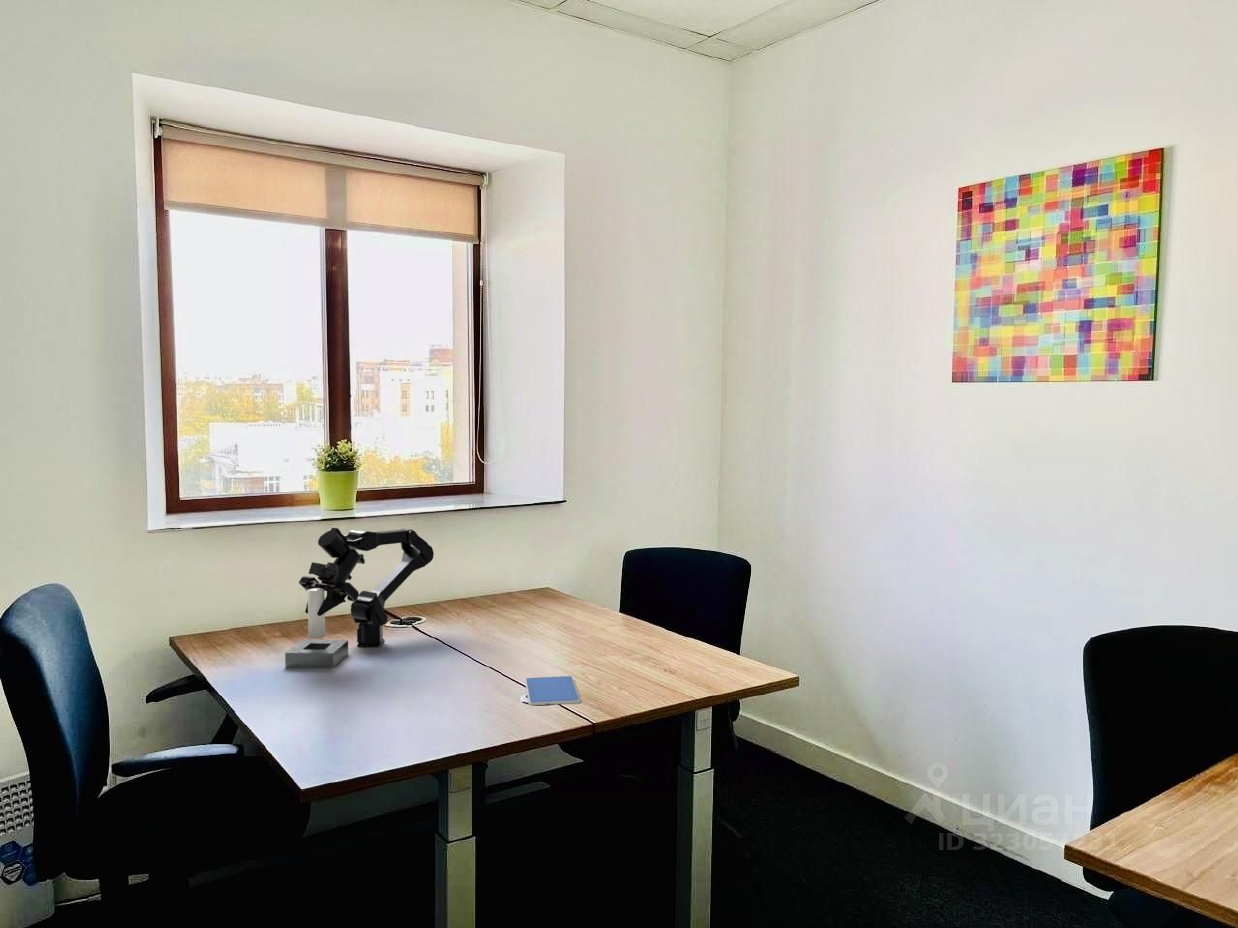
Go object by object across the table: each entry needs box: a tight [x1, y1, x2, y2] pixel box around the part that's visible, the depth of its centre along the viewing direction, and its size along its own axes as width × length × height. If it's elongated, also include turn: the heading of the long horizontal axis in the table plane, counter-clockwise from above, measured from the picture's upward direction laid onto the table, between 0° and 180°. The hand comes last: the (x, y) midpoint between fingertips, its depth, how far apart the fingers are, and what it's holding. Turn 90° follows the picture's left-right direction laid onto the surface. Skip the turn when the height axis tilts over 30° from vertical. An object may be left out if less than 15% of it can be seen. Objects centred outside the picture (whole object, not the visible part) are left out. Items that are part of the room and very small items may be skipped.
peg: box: [306, 588, 326, 640], centre depth 253 cm, size 4×4×13 cm
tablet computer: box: [524, 675, 582, 706], centre depth 230 cm, size 19×13×1 cm, turn 9°
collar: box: [284, 639, 349, 669], centre depth 254 cm, size 13×13×4 cm
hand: (312, 614), depth 252 cm, fingers closed on peg, 4 cm apart
